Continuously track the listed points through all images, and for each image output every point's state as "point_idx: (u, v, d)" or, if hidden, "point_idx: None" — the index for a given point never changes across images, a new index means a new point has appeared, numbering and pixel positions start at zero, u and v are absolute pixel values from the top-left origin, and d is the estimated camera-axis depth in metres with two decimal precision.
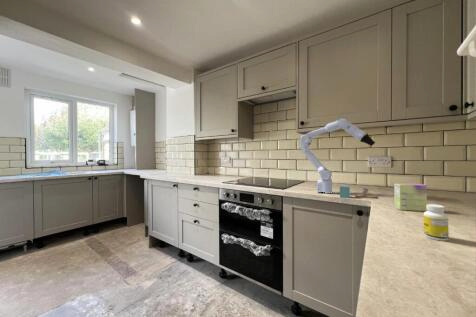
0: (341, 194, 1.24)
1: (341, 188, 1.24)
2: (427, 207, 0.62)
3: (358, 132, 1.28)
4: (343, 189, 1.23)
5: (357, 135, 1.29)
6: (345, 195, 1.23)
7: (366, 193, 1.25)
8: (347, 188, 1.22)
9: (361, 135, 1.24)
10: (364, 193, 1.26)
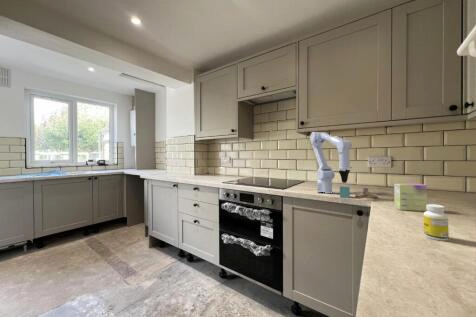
0: (341, 194, 1.24)
1: (341, 188, 1.24)
2: (427, 207, 0.62)
3: (345, 164, 1.22)
4: (343, 189, 1.23)
5: (342, 165, 1.24)
6: (345, 195, 1.23)
7: (366, 193, 1.25)
8: (347, 188, 1.22)
9: (343, 169, 1.19)
10: (364, 193, 1.26)
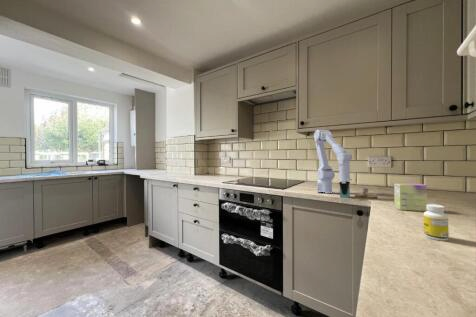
0: (341, 194, 1.24)
1: None
2: (427, 207, 0.62)
3: (345, 176, 1.23)
4: None
5: (342, 177, 1.24)
6: (345, 195, 1.23)
7: (366, 193, 1.25)
8: None
9: (343, 181, 1.19)
10: (364, 193, 1.26)
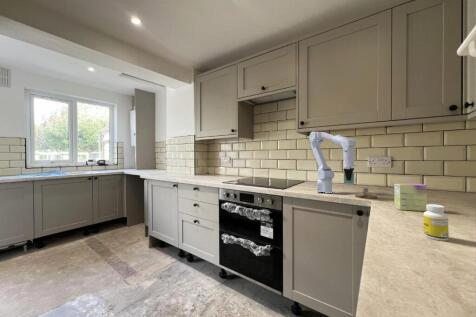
0: (345, 180, 1.24)
1: None
2: (427, 207, 0.62)
3: (349, 162, 1.23)
4: None
5: (346, 163, 1.24)
6: (349, 181, 1.23)
7: (366, 193, 1.25)
8: None
9: (347, 167, 1.19)
10: (364, 193, 1.26)
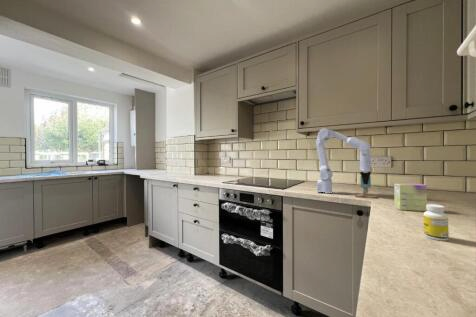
0: (362, 184, 1.25)
1: None
2: (427, 207, 0.62)
3: (366, 166, 1.24)
4: None
5: (363, 167, 1.25)
6: (366, 185, 1.24)
7: (366, 193, 1.25)
8: None
9: (365, 170, 1.20)
10: (364, 193, 1.26)
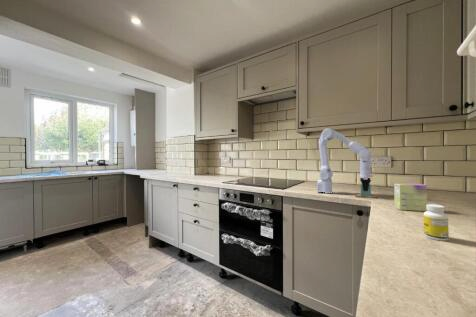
0: (362, 192, 1.25)
1: (362, 186, 1.25)
2: (427, 207, 0.62)
3: (366, 172, 1.24)
4: None
5: (363, 173, 1.25)
6: (366, 193, 1.24)
7: None
8: None
9: (365, 177, 1.20)
10: None
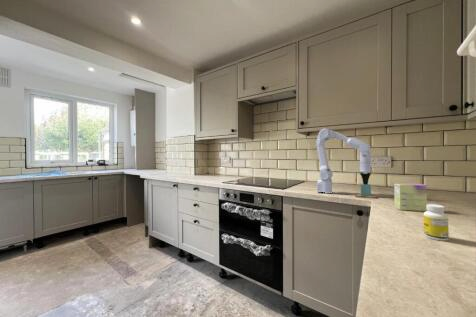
0: (362, 192, 1.25)
1: (362, 186, 1.25)
2: (427, 207, 0.62)
3: (366, 166, 1.24)
4: (364, 187, 1.24)
5: (363, 168, 1.25)
6: (366, 193, 1.24)
7: None
8: (368, 186, 1.23)
9: (365, 171, 1.20)
10: None
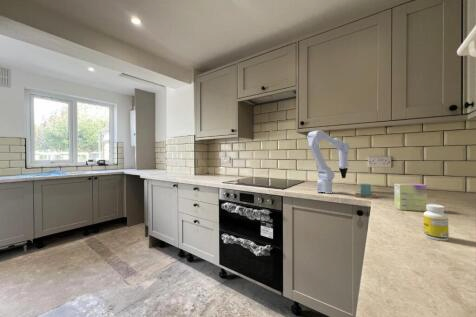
0: (362, 192, 1.25)
1: (362, 186, 1.25)
2: (427, 207, 0.62)
3: (344, 162, 1.43)
4: (364, 187, 1.24)
5: (341, 163, 1.44)
6: (366, 193, 1.24)
7: None
8: (368, 186, 1.23)
9: (342, 167, 1.40)
10: None
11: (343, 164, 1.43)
